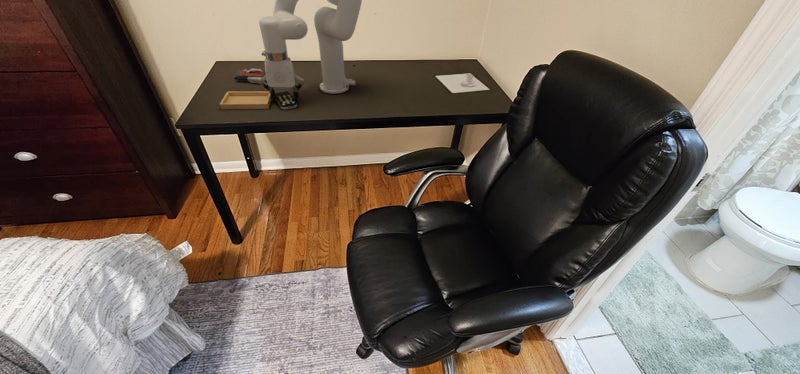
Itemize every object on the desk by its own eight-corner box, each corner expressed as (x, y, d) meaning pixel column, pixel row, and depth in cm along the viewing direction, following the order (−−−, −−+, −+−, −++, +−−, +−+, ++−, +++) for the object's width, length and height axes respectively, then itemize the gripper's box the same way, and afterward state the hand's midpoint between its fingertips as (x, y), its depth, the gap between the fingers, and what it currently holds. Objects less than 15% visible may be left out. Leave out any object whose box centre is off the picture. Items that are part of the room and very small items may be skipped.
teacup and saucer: (463, 87, 147) (464, 79, 145) (455, 80, 153) (457, 72, 150) (479, 86, 150) (481, 78, 147) (471, 79, 155) (473, 71, 153)
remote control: (289, 94, 131) (288, 89, 130) (298, 107, 123) (297, 103, 122) (274, 96, 129) (273, 92, 127) (282, 110, 120) (281, 105, 119)
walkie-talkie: (233, 83, 135) (280, 85, 137) (230, 73, 132) (278, 75, 134) (239, 75, 142) (284, 77, 144) (236, 66, 139) (282, 67, 141)
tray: (272, 96, 129) (271, 91, 128) (268, 108, 121) (267, 103, 119) (228, 96, 126) (227, 91, 125) (221, 109, 118) (219, 104, 117)
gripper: (249, 58, 109) (261, 104, 121) (300, 59, 112) (307, 104, 124) (253, 51, 115) (264, 96, 127) (302, 52, 118) (308, 95, 129)
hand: (285, 99), depth 125 cm, fingers closed on remote control, 7 cm apart
